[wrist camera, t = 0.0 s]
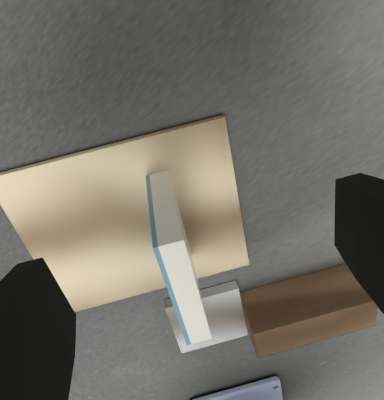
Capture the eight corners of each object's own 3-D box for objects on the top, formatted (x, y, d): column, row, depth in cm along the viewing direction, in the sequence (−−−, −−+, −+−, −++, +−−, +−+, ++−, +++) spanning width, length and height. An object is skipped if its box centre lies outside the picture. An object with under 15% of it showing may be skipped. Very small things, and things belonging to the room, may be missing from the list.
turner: (346, 298, 27) (373, 336, 24) (180, 344, 26) (187, 389, 23) (348, 248, 24) (379, 285, 21) (163, 299, 24) (169, 343, 21)
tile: (191, 255, 21) (212, 338, 16) (172, 260, 21) (187, 345, 16) (168, 170, 18) (183, 239, 13) (145, 175, 18) (152, 248, 13)
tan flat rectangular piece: (247, 260, 23) (249, 264, 22) (67, 309, 23) (67, 314, 22) (223, 114, 18) (225, 116, 17) (-12, 175, 17) (-15, 179, 17)
